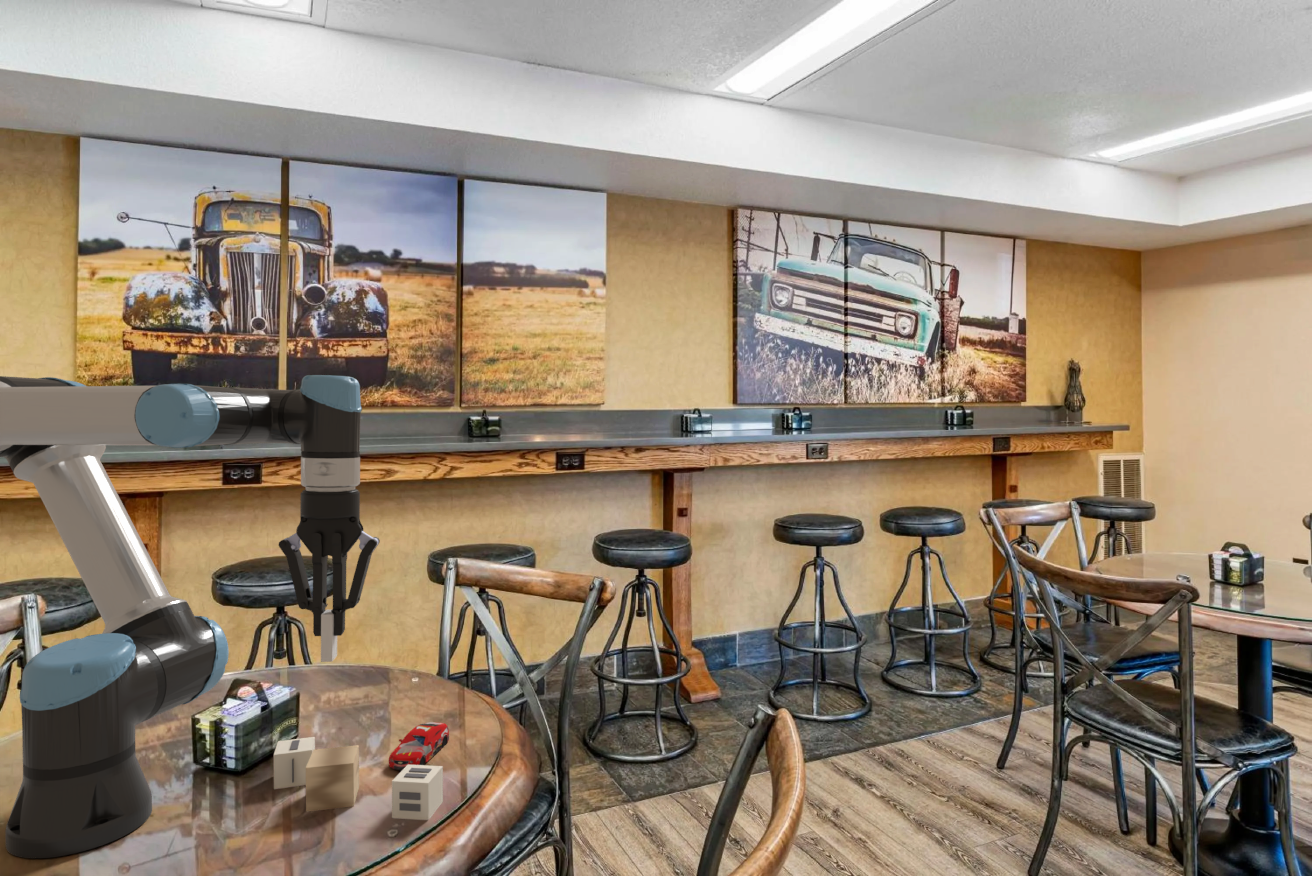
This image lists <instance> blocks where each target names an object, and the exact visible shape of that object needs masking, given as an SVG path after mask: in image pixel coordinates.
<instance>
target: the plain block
mask: <svg viewBox="0 0 1312 876" xmlns="http://www.w3.org/2000/svg"><path fill="white" fill-rule="evenodd" d="M359 789H360V745H358V744H356V745H346V746H337V747H335V746H334V747H326V748H317V749H316V748H315V749H314V750H313V752H312V755H311V757H310V759H309V761H308V764H307V766H306V785H305V812H306V813H307V812H315V811H324V810H334V809H342V808H350V807H355V803H356V800H357V796H358V792H359Z"/></svg>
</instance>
